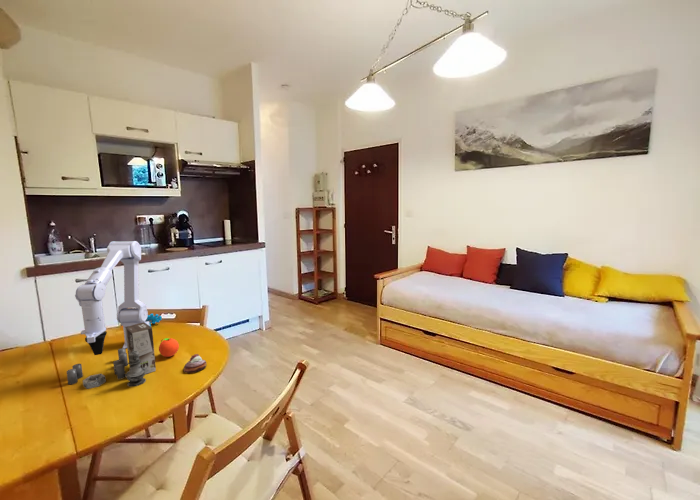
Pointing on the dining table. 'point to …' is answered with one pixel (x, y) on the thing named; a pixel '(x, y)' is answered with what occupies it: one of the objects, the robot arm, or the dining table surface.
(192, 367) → the pastry
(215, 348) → the dining table surface
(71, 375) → the spacers
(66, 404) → the dining table surface
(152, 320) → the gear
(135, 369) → the grey tall stone piece
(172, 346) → the clementine
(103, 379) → the nut
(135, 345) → the coffee box
